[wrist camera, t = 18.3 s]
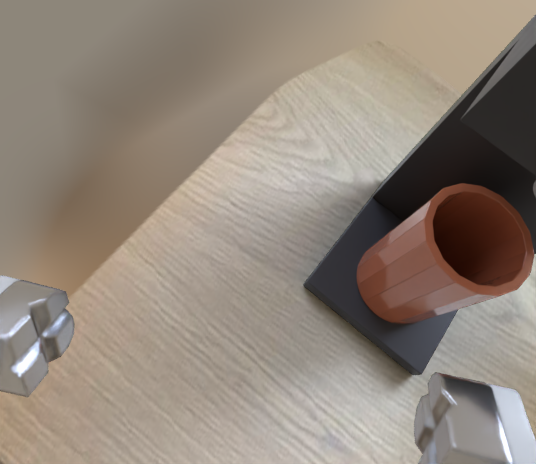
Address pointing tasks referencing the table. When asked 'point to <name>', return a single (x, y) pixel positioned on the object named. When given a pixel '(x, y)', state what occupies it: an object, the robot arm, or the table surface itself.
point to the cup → (447, 256)
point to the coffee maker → (435, 179)
